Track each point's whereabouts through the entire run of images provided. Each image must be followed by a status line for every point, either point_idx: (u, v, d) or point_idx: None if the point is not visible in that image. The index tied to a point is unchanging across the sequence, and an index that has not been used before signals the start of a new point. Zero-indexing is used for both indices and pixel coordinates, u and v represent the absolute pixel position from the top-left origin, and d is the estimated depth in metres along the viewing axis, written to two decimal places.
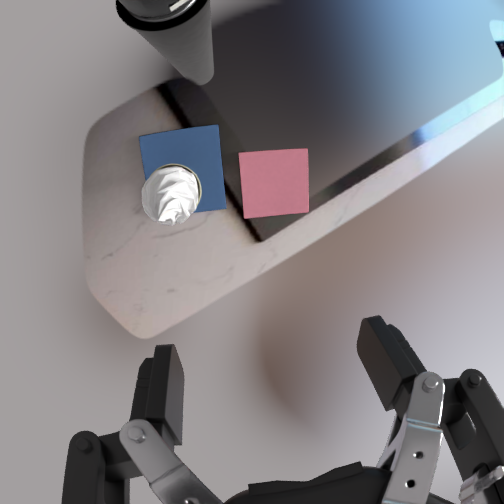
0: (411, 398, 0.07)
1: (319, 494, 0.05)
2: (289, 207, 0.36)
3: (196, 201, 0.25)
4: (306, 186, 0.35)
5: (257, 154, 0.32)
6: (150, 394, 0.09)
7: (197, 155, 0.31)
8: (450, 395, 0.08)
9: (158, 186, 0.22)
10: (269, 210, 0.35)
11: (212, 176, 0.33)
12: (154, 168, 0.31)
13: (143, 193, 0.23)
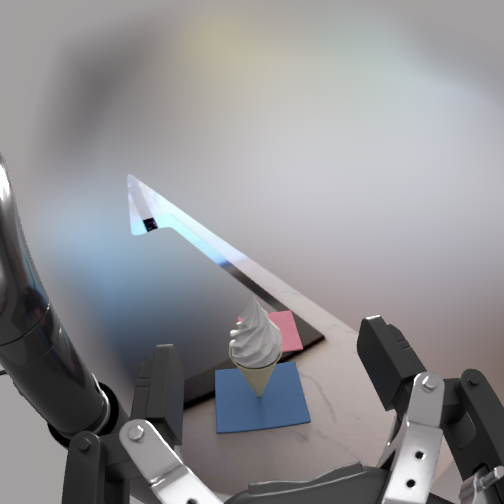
0: (411, 398, 0.07)
1: (319, 494, 0.05)
2: (288, 321, 0.42)
3: None
4: (269, 314, 0.44)
5: None
6: (150, 394, 0.09)
7: (242, 384, 0.32)
8: (450, 395, 0.08)
9: (238, 332, 0.25)
10: (292, 333, 0.40)
11: None
12: (253, 419, 0.28)
13: (248, 352, 0.24)
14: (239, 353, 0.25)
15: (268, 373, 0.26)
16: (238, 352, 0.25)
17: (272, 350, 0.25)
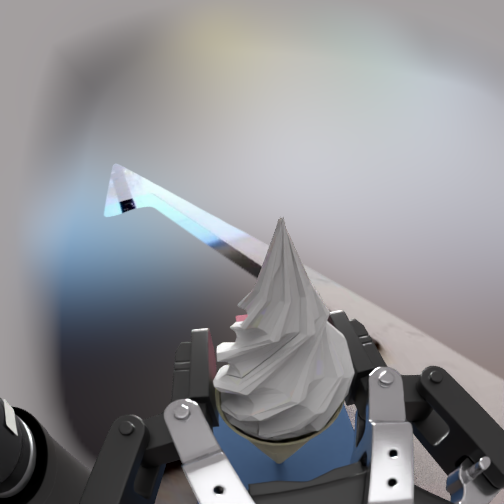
0: (369, 397, 0.08)
1: (319, 494, 0.05)
2: None
3: None
4: None
5: None
6: (192, 375, 0.09)
7: (246, 439, 0.16)
8: (410, 392, 0.08)
9: (237, 350, 0.08)
10: None
11: None
12: None
13: (267, 410, 0.08)
14: (241, 406, 0.08)
15: (309, 439, 0.10)
16: (238, 402, 0.09)
17: None
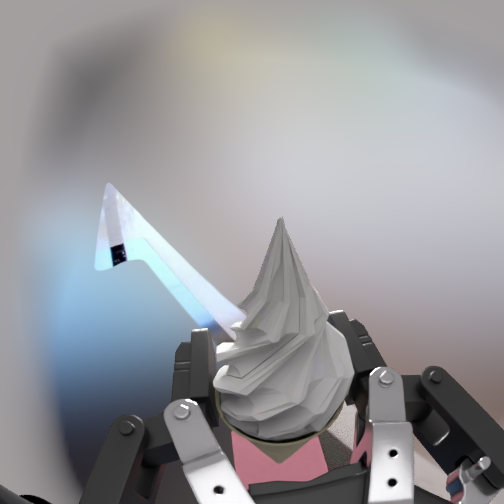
0: (369, 397, 0.08)
1: (319, 494, 0.05)
2: (310, 440, 0.23)
3: None
4: None
5: None
6: (192, 375, 0.09)
7: None
8: (410, 392, 0.08)
9: (236, 350, 0.08)
10: (317, 462, 0.21)
11: None
12: None
13: (267, 410, 0.08)
14: (240, 407, 0.08)
15: (309, 439, 0.10)
16: (237, 403, 0.09)
17: None
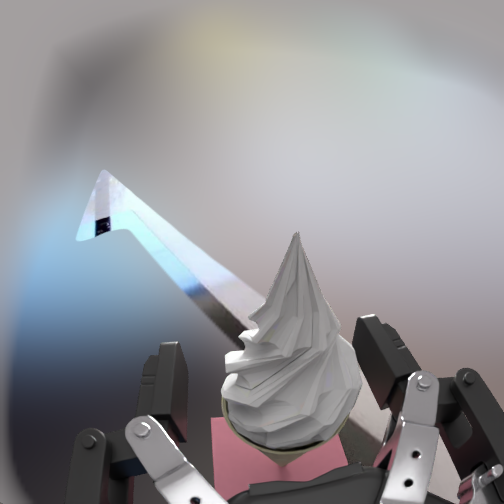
0: (406, 397, 0.08)
1: (319, 494, 0.05)
2: None
3: None
4: None
5: (221, 495, 0.12)
6: (156, 391, 0.09)
7: None
8: (445, 394, 0.08)
9: (247, 362, 0.08)
10: (335, 462, 0.14)
11: None
12: None
13: (277, 422, 0.07)
14: (249, 417, 0.08)
15: None
16: (246, 413, 0.09)
17: None
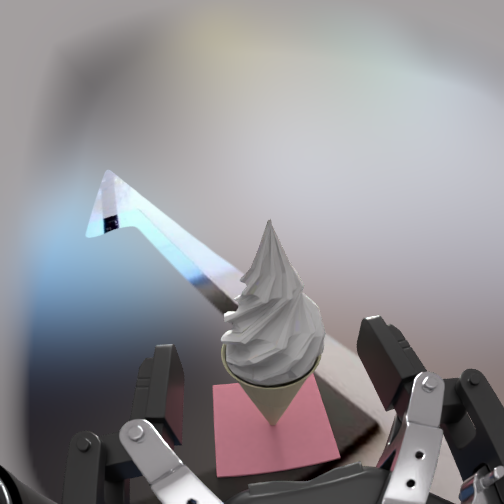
0: (411, 398, 0.07)
1: (319, 494, 0.05)
2: (309, 397, 0.20)
3: None
4: None
5: (220, 449, 0.16)
6: (150, 394, 0.09)
7: None
8: (450, 395, 0.08)
9: (239, 312, 0.12)
10: (319, 423, 0.18)
11: None
12: None
13: (260, 355, 0.11)
14: (241, 356, 0.12)
15: (294, 392, 0.14)
16: (239, 354, 0.13)
17: (307, 349, 0.12)
